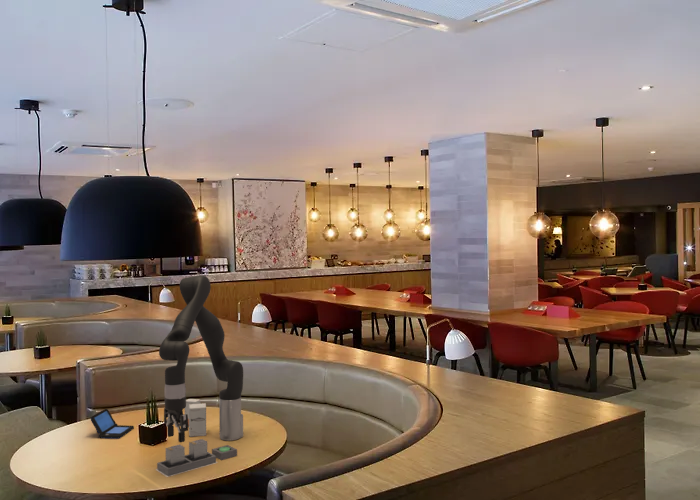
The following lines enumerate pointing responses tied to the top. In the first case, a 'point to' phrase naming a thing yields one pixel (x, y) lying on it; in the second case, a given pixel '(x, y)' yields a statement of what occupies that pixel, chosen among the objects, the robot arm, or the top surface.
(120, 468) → the top surface
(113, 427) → the handheld game console
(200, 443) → the seated billet
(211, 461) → the pocket tray
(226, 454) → the button housing
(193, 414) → the supplement box
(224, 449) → the button
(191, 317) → the robot arm
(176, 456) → the billet
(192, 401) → the skincare box
